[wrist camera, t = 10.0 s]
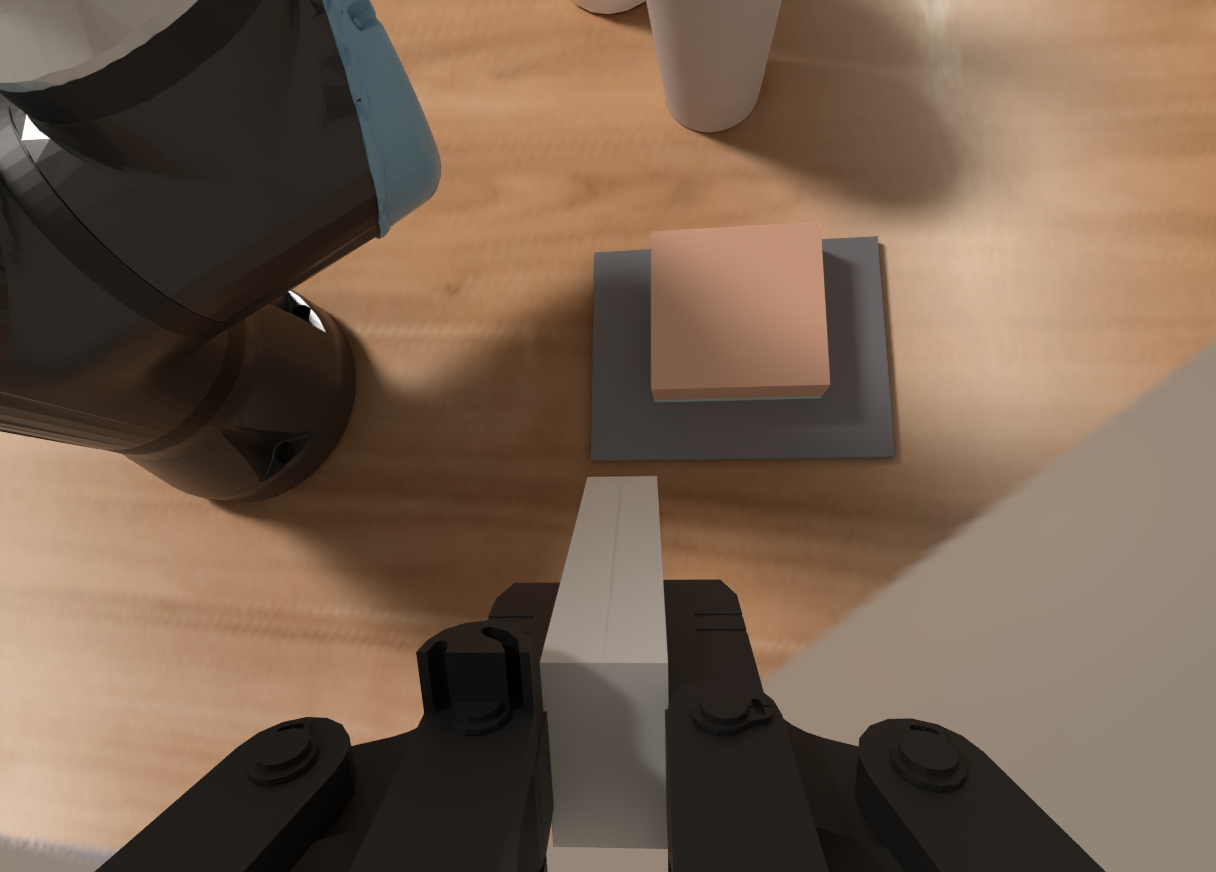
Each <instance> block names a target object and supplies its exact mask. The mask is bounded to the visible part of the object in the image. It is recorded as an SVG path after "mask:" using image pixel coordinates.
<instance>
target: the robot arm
mask: <svg viewBox="0 0 1216 872" xmlns="http://www.w3.org/2000/svg"><path fill="white" fill-rule="evenodd" d="M0 94H1V95H0V431H1V432H7V433H12V434H18V435H23V436H29V437H34V438H40V439H45V440H51V441H57V442H62V443H68V444H73V445H79V446H84V447H90V448H95V449H102V450H107V451H112V452H117V453H121V454H123V455H124V456H126V457H127V458H129V459H130V460H132V461H134V462H135V463H137V464H138V465H140V466H141V467H143V468H144V469H146V470H148V471H149V472H151V473H152V474H154V475H155V476H157V477H158V478H160V479H162V480H163V481H165V482H166V483H168V484H169V485H171V486H173V487H175V488H177V489H179V490H181V491H183V492H186V493H188V494H191V495H195V496H198V497H203V498H208V499H215V500H222V501H230V502H250V501H257V500H262V499H266V498H269V497H272V496H275V495H278V494H280V493H282V492H284V491H286V490H288V489H290V488H292V487H294V486H295V485H297V484H298V483H300V482H301V481H303V480H304V479H305V478H307V477H308V476H309V475H310V474H311V473H313V472H314V471H315V470H316V469H317V468H318V467H319V466H320V465H321V464H322V463H323V462H324V460H325V459H326V458H327V457H328V456H329V454H330V453H331V452H332V450H333V449H334V447H335V446H336V444H337V442H338V441H339V439H340V437H341V435H342V433H343V431H344V429H345V427H346V424H347V422H348V419H349V416H350V413H351V409H352V405H353V400H354V393H355V368H354V362H353V357H352V353H351V350H350V347H349V344H348V342H347V340H346V338H345V336H344V334H343V332H342V331H341V329H340V327H339V326H338V325H337V323H336V322H335V321H334V320H333V319H332V318H331V317H330V316H329V315H328V314H327V313H326V312H325V311H324V310H322V309H321V308H320V307H318V306H317V305H315V304H314V303H313V302H311V301H310V300H308V299H307V298H305V297H304V296H302V295H300V294H299V293H297V292H295V291H293V290H292V289H293V288H295V287H296V286H298V285H300V284H301V283H303V282H304V281H306V280H308V279H309V278H311V277H312V276H314V275H316V274H317V273H319V272H320V271H322V270H324V269H325V268H327V267H328V266H330V265H332V264H333V263H335V262H336V261H338V260H340V259H341V258H343V257H344V256H346V255H348V254H349V253H351V252H352V251H354V250H356V249H357V248H359V247H360V246H362V245H364V244H365V243H367V242H368V241H370V240H372V239H373V238H375V237H376V238H377V239H381V238H383V237H385V235H386V234H387V233H388V232H389V230H390V227H391V226H392V225H394V224H395V223H397V222H398V221H399V220H401V219H402V218H404V217H405V216H407V215H408V214H409V213H411V212H412V211H414V210H415V209H417V208H418V207H420V206H421V205H422V204H424V203H425V202H427V201H428V200H429V199H430V198H431V197H432V196H433V195H434V193H435V192H436V190H437V187H438V184H439V181H440V177H441V160H440V156H439V152H438V148H437V145H436V142H435V140H434V137H433V135H432V132H431V130H430V127H429V125H428V122H427V120H426V117H425V115H424V112H423V110H422V108H421V106H420V103H419V101H418V99H417V96H416V94H415V92H414V90H413V87H412V85H411V83H410V81H409V79H408V76H407V74H406V72H405V70H404V68H403V66H402V64H401V61H400V59H399V57H398V55H397V53H396V51H395V49H394V47H393V45H392V43H391V41H390V39H389V37H388V35H387V33H386V31H385V29H384V27H383V26H382V24H381V23H380V22H379V20H378V19H377V18H376V13H375V10H374V8H373V6H372V4H371V2H370V0H0ZM416 655H417V662H418V670H419V677H420V685H421V692H422V700H423V707H424V715H423V717H422V719H421V721H420V723H419V725H418V727H417V728H416V729H413V730H411V731H409V732H406V733H403V734H400V735H397V736H393V737H390V738H385V739H381V740H377V741H372V742H368V743H363V744H359V745H355V746H351V743H350V737H349V735H348V733H347V732H346V730H345V729H344V727H343V725H342V724H340V723H337V722H335V721H333V720H331V719H328V718H316V717H305V718H300V719H295V720H291V721H286V722H282V723H280V724H277V725H275V726H273V727H271V728H268V729H266V730H264V731H261V732H259V733H257V734H256V735H255V736H253V737H252V738H250V739H249V740H247V741H246V742H244V743H243V744H242V745H240V746H239V747H237V748H236V749H235V750H234V751H233V752H231V753H230V754H229V755H228V756H227V757H226V758H225V759H223V760H222V761H221V762H220V763H219V764H218V765H217V766H215V767H214V768H213V769H212V770H211V771H210V772H209V773H207V774H206V775H205V776H204V777H203V778H202V779H200V780H199V781H198V782H197V783H196V784H195V785H194V786H192V787H191V788H190V789H189V790H188V791H187V792H186V793H184V794H183V795H182V796H181V797H180V798H179V799H177V800H176V801H175V802H174V803H173V804H172V805H171V806H169V807H168V808H167V809H166V810H165V811H164V812H163V813H161V814H160V815H159V816H158V817H157V818H156V819H155V820H153V821H152V822H151V823H150V824H149V825H148V826H146V827H145V828H144V829H143V830H142V831H141V832H140V833H138V834H137V835H136V836H135V837H134V838H133V839H132V840H130V841H129V842H128V843H127V844H126V845H125V846H124V847H122V848H121V849H120V850H119V851H118V852H117V853H115V854H114V855H113V856H112V857H111V858H110V859H109V860H107V861H106V862H105V863H104V864H103V865H102V866H101V867H100V868H98V869H97V870H96V871H95V872H547V859H546V851H547V845H548V839H549V833H550V827H551V821H552V835H553V846H554V847H601V848H603V847H604V848H650V849H651V848H652V849H668V872H1105V871H1104V870H1103V869H1102V868H1101V867H1100V866H1099V865H1098V864H1097V863H1096V862H1095V861H1094V860H1093V859H1092V858H1091V857H1090V856H1089V855H1088V854H1087V853H1086V852H1085V851H1084V850H1083V849H1082V848H1081V847H1080V846H1079V845H1078V844H1077V843H1076V842H1075V841H1074V840H1072V838H1071V837H1069V835H1068V834H1067V833H1065V832H1064V830H1063V829H1061V828H1060V826H1058V825H1057V824H1056V823H1055V822H1054V821H1053V820H1052V819H1051V818H1050V817H1049V816H1048V815H1047V814H1046V813H1045V812H1044V811H1043V810H1042V809H1041V808H1040V807H1039V806H1038V805H1037V804H1036V803H1035V802H1034V801H1033V800H1032V799H1031V798H1030V797H1029V796H1028V795H1027V794H1026V793H1025V792H1024V791H1023V790H1022V789H1021V788H1020V787H1019V786H1018V785H1017V784H1016V783H1014V781H1013V780H1012V779H1011V778H1010V777H1009V776H1007V774H1006V773H1005V772H1004V771H1003V770H1001V769H1000V768H999V767H998V766H997V765H996V764H995V763H994V762H993V761H992V760H991V759H990V758H989V757H988V756H987V755H986V754H985V753H984V752H983V751H982V750H980V749H979V748H978V747H976V746H975V745H974V744H972V743H971V742H970V741H968V740H967V739H966V738H964V737H963V736H962V735H959V734H957V733H955V732H953V731H951V730H948V729H946V728H944V727H942V726H940V725H938V724H933V723H929V722H925V721H920V720H915V719H887V720H884V721H881V722H879V723H876V724H874V725H870V726H869V727H868V729H867V730H866V731H865V732H864V733H863V734H862V736H861V737H860V738H859V747H858V746H854V745H850V744H846V743H841V742H837V741H833V740H829V739H825V738H822V737H819V736H816V735H813V734H810V733H807V732H805V731H803V730H801V729H799V728H797V727H795V726H793V725H791V724H790V723H789V722H787V721H786V720H784V719H783V716H782V714H781V712H780V711H779V709H778V707H777V705H776V704H775V702H774V700H772V699H771V698H770V697H769V696H767V695H766V694H765V693H764V692H763V688H762V685H761V681H760V677H759V674H758V670H757V666H756V663H755V659H754V655H753V652H752V648H751V645H750V641H749V637H748V634H747V633H746V626H745V623H744V619H743V617H742V612H741V608H740V604H739V601H738V597H737V595H736V594H735V593H734V592H733V591H732V590H731V589H730V588H729V587H728V586H727V585H726V584H724V583H723V582H722V581H721V580H663V570H662V553H661V536H660V519H659V502H658V485H657V476H623V477H587V481H586V485H585V489H584V493H583V496H582V500H581V504H580V508H579V512H578V516H577V520H576V524H575V528H574V531H573V535H572V539H571V543H570V547H569V551H568V555H567V559H566V563H565V566H564V570H563V574H562V578H561V582H560V583H514V584H513V585H512V586H511V587H509V588H508V589H507V590H506V591H505V592H503V593H502V594H501V595H500V596H499V597H497V598H496V601H495V603H494V605H493V607H492V610H491V612H490V614H489V620H487V621H480V622H471V623H464V624H461V625H458V626H455V627H451V628H448V629H445V630H443V631H442V632H440V633H438V634H437V635H435V636H433V637H431V638H430V639H428V640H427V641H426V642H425V643H424V644H423V645H422V647H421V648H420V649H419V650H418V651H417V652H416Z"/></svg>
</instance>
